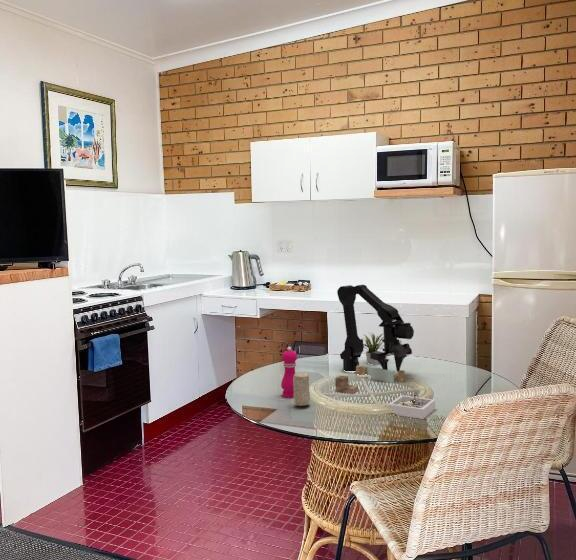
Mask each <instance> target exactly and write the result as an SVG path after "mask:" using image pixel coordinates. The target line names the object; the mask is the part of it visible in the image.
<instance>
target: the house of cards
mask: <svg viewBox="0 0 576 560" xmlns="http://www.w3.org/2000/svg"><path fill="white" fill-rule="evenodd" d="M412 397H414V399H411V401H412V403H413V404H411V405H412V406H414V405H417V406H416V408H422V407H424V405H423V404H422V402H421V401H420V400H419V398H420V394H419V391H418V390H417V391H414V393H413V396H412ZM416 397H417V400H416ZM414 400H415V401H414ZM411 401H410V402H411ZM415 403H416V404H415ZM414 407H415V406H414Z"/></svg>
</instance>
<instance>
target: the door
mask: <svg viewBox="0 0 576 560" xmlns="http://www.w3.org/2000/svg"><path fill="white" fill-rule="evenodd" d="M366 374H367V375H370V376H371V377H372V378H374V379H375V381H381V382H385V383H391V384H395V370H392V369H388V370H386V369H383V368H380V367H375V366H368V365H367V366H366ZM374 379H373V380H374Z"/></svg>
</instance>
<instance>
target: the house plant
mask: <svg viewBox="0 0 576 560" xmlns="http://www.w3.org/2000/svg"><path fill="white" fill-rule="evenodd" d="M362 334H363V333H362ZM369 334H370V336H371V339H372V342H371V339H370V338H369V337H368V336H367V335H366V334H363V336H364V337H365V338H364V337H362V339H363V341H365V343H363V345H364V348H363V349H366V350H367V351H365V356H366V362H367V364H368V363H369V364H378V363H379V362H378V360H374V359H371V358H370V354H371V353H372V352H376V351H378V350H379V349H380V347H381V346H382V344H384V342H382V339H384V332H383V333H381V334H380V335H377V336H376V335H375V334H374V333H373V332H371V333H369ZM382 336H383V337H382ZM381 349H382V350H383V349H384V347H381ZM379 364H380V363H379ZM379 364H378V365H379Z"/></svg>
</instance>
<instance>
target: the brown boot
mask: <svg viewBox="0 0 576 560" xmlns="http://www.w3.org/2000/svg"><path fill="white" fill-rule="evenodd" d="M334 386H335V392H336V393H342V394H343V393H344V394H351V395H354V394H356V393H357V392H359V386H358V385H351V384H349V376H347V375H339V376H337V377H335V385H334Z"/></svg>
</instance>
